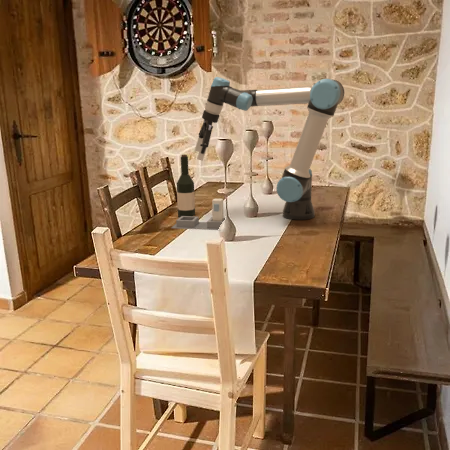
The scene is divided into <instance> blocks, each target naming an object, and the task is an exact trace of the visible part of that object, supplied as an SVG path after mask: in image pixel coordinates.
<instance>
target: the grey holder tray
mask: <svg viewBox="0 0 450 450" xmlns="http://www.w3.org/2000/svg"><path fill="white" fill-rule="evenodd" d="M225 218H226V217H224V220H225ZM175 221H176V223H175V224H174V225H172V226H171V227H170V228H171V229H177V230H178V229H182V230H183V229H184V230H205V231H206V230H207V231H209V230H210V231H219V230H218V229H219V227H220V225H221V224H222V222H223V221H213V216H211V217H210V218H209V219H208V220H207V221H200V220H199V216H195V215H194V216H181V217H180V218H179V217H178V218H177V219H176V220H175Z"/></svg>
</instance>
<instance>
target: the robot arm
mask: <svg viewBox="0 0 450 450" xmlns="http://www.w3.org/2000/svg"><path fill="white" fill-rule="evenodd" d="M230 84H231V82H230V81H229V80H228V79H226V78H223V77H219V76H216V77H214V78H213V81H212V83H211V86H210V89H209V92H208V96H207V99H206V101H205V102H204V110H203V111H202V112H203V113H202V116H201V117H202V119H203V123H202V125H201V126H200V130H199V133H198V138H197V141H196V145H195V148H194V151H195V152H198V155H197V158H196V160H199V161H202V162H203V161H204V158H205V154H206V152H207V148H209V146H210V145H209V144H210V140H211V137H212V133H213V132H212V131H213V128H214V126H213V124H216V123H218V121H219V119H220V115H221V112H222V109H223V107H224V106H223V105H224V104H227V105H228V106H231V107H233V108H235V109H236V108H237V109H238V110H241V111H246V112H247V111H248V110H250V108H252V107H267V106H268V107H269V106H287V105H288V106H289V105H305V104H307V110H308V114H307V118H306V120H305V122H304V126H303V128H302V131H301V134H300V136H299V139H298V142H297V145H296V147H295V150H294V152H293V155H292V159H291V161H290V164H289V165H287V166H285V168H284V170H283V173H282V176H281V178H280V179H279V180H278V182H277V184H276V193H277V195H278V197H279V198H280V199H281V200H282V201H284V202H285V204H284V206H283V209H282V217H283V218H284V219H288V220H295V221H302V220H303V221H305V220H310V219H313V218H315V213H316V212H315V209H314V205H313V202H312V190H313V189H312V185H313V181H312V180H313V173H312V172H313V171H312V169H311V166H312V162H313V161H314V158H315V155H316V153H317V150H318V148H319V145H320V142H321V140H322V137H323V135H324V132H325V129H326V127H327V124H328V120H329V119H331V118H333V117H334V116H335V114H336V110H337V108H338V105H340V104H341V102H342V101H343V100H344V98H345V89H344V88H345V87H344V86H343V84H342V83H341V82H340V81H339V80H336V79H331V78H323V79H320V80H318V81H317V82H314V83H313V84H312V85H303V86H290V87H275V88H273V87H272V88H261V89H260V88H259V89H246V90H245V89H243V90H242V89H238V88H234V87H233V86H230Z"/></svg>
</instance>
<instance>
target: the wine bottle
mask: <svg viewBox="0 0 450 450" xmlns="http://www.w3.org/2000/svg"><path fill="white" fill-rule="evenodd" d="M180 170H181V171H180V173H181V175H180V176H179V178H178V180H177V181H176V199H177V201H176V202H177V218H178V219H179V218H180V217H181V216H194V217H195V215H196V198H195V182H194V180H193V178H192V177H191V176H190V174H189V156H188V155H187V154H181V156H180Z"/></svg>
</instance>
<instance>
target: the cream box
mask: <svg viewBox="0 0 450 450" xmlns="http://www.w3.org/2000/svg"><path fill="white" fill-rule="evenodd" d="M211 203H212V205H211V207H212V209H211V210H212V217H213V221H224V218H225V217H224V213H225V212H224V198H213V199H212V202H211Z"/></svg>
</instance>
